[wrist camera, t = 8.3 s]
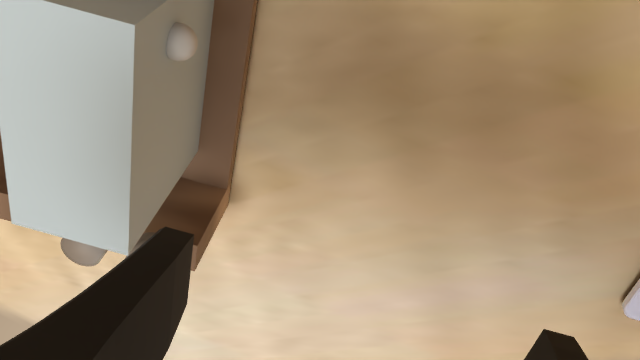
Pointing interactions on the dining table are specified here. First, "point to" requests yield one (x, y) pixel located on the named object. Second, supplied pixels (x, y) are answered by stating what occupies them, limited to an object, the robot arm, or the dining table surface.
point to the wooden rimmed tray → (214, 143)
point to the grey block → (99, 111)
